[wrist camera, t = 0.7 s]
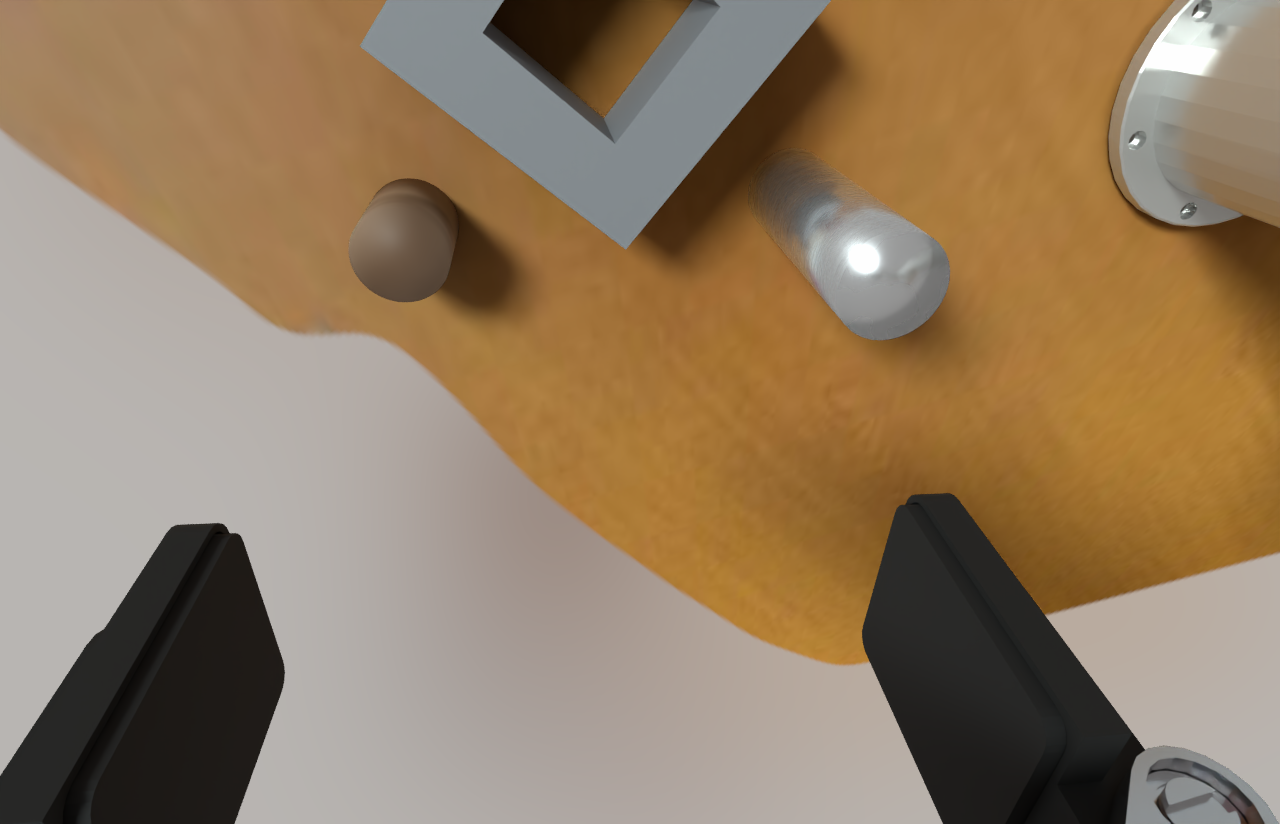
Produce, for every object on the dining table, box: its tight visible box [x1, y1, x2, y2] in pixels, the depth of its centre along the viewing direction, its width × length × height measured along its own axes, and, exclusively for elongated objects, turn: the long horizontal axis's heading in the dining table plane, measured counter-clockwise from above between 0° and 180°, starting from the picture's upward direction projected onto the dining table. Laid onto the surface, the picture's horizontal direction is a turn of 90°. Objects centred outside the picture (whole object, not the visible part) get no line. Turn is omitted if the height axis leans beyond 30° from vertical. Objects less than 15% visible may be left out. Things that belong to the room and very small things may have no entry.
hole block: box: [360, 0, 831, 249], centre depth 28 cm, size 12×12×5 cm
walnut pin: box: [349, 179, 459, 302], centre depth 32 cm, size 4×4×4 cm
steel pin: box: [748, 148, 950, 340], centre depth 30 cm, size 4×4×12 cm
